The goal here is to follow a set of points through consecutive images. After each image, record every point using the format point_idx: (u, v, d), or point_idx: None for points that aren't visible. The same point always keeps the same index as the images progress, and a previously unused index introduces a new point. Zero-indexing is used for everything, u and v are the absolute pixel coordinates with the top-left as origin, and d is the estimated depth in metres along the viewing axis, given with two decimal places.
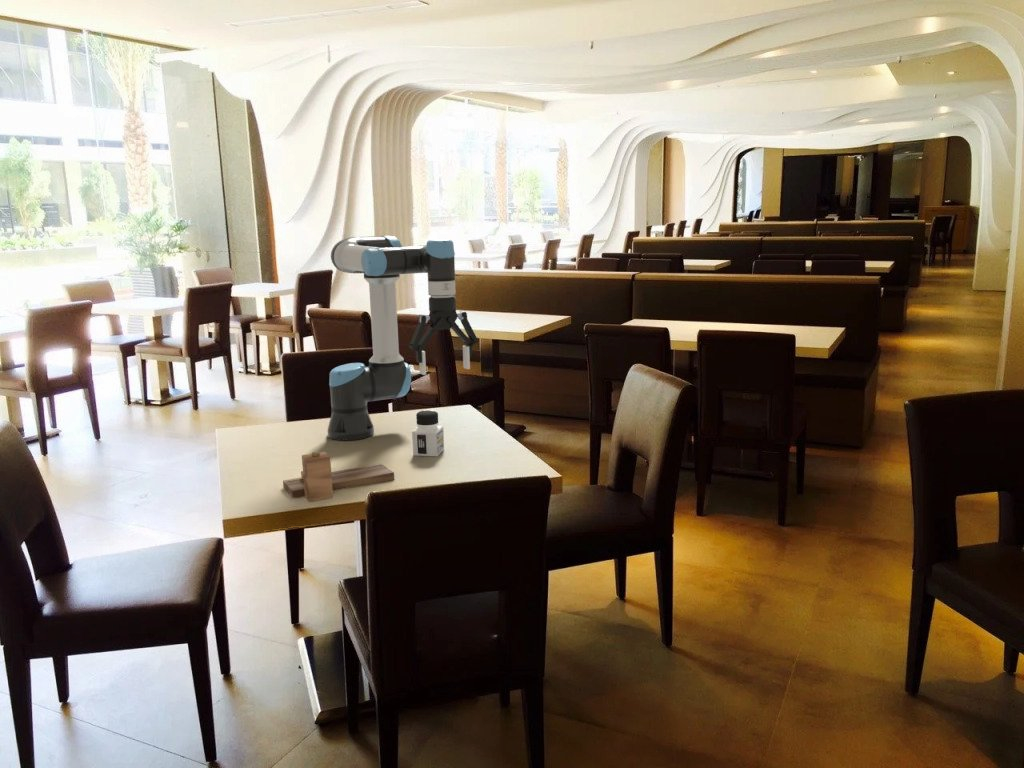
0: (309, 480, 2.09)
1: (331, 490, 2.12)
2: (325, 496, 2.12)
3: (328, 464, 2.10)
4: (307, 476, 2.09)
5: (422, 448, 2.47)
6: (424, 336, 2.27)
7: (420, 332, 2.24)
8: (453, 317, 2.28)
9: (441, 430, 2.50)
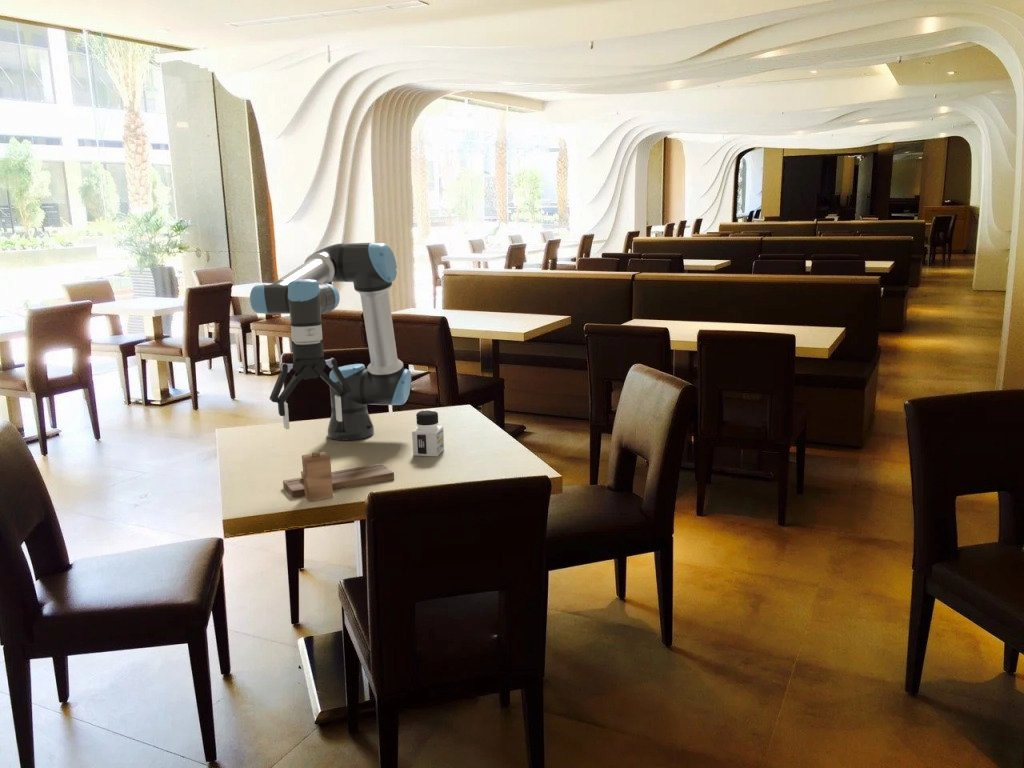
0: (309, 480, 2.09)
1: (331, 490, 2.12)
2: (325, 496, 2.12)
3: (328, 464, 2.10)
4: (307, 476, 2.09)
5: (422, 448, 2.47)
6: (287, 386, 2.04)
7: (281, 382, 2.02)
8: (320, 365, 2.06)
9: (441, 430, 2.50)
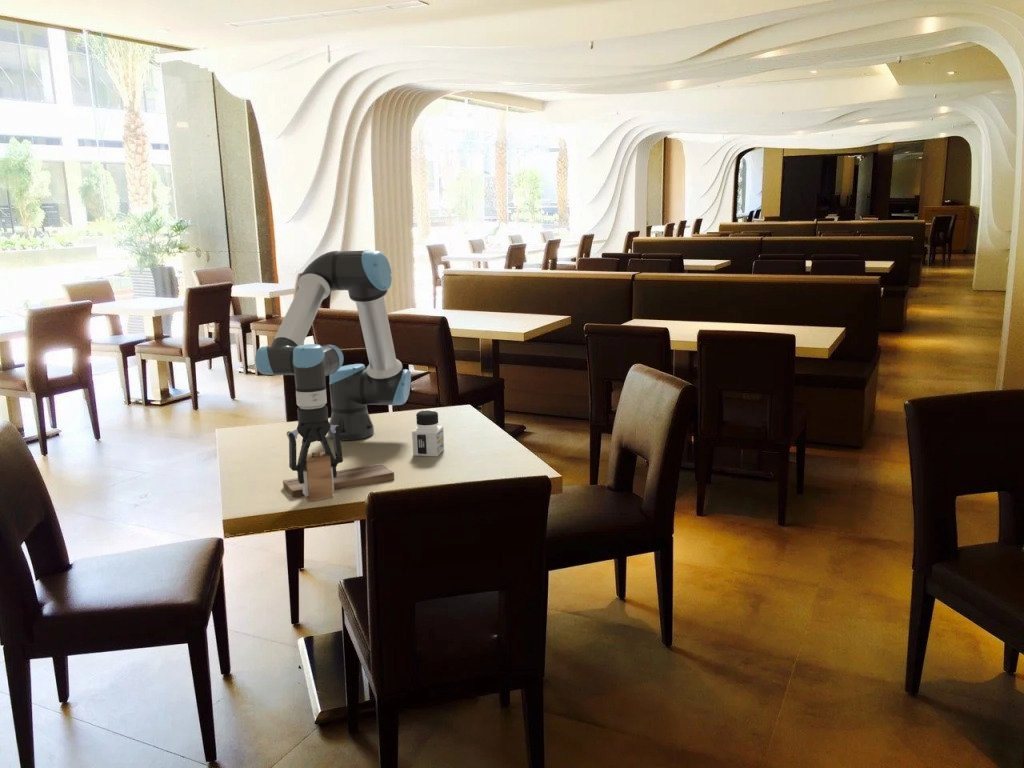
0: (309, 480, 2.09)
1: (331, 490, 2.12)
2: (325, 496, 2.12)
3: (328, 464, 2.10)
4: (307, 476, 2.09)
5: (422, 448, 2.47)
6: (300, 453, 2.09)
7: (294, 451, 2.07)
8: (325, 427, 2.10)
9: (441, 430, 2.50)
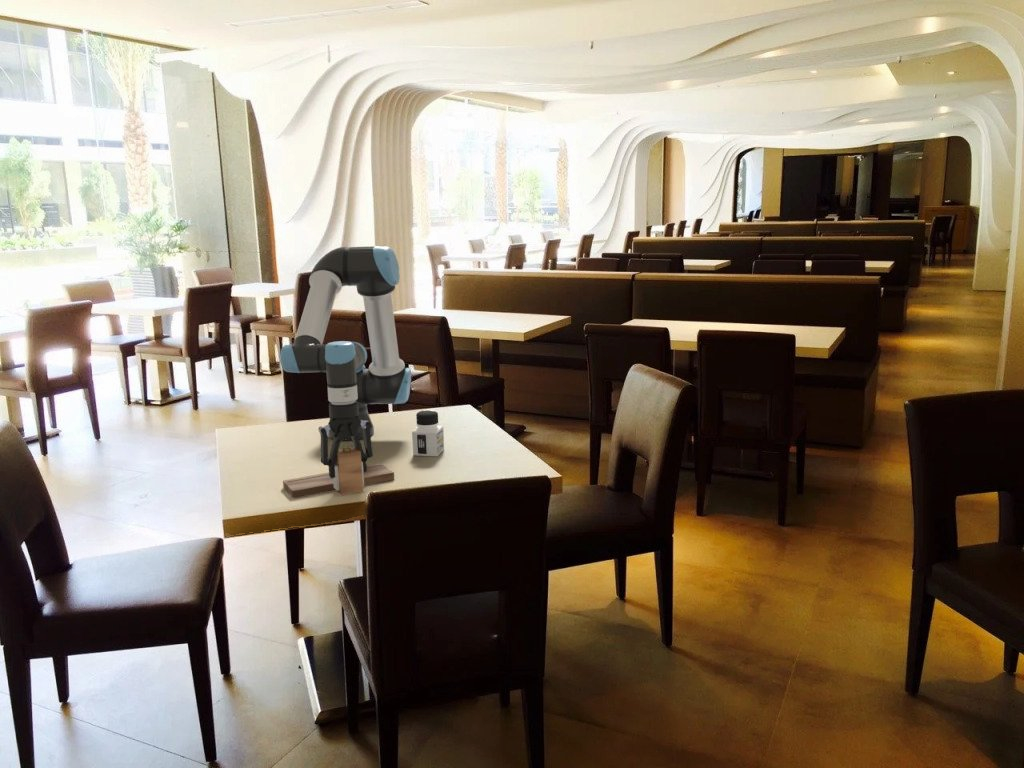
0: (340, 474, 2.13)
1: (361, 484, 2.16)
2: (355, 490, 2.15)
3: (359, 458, 2.14)
4: (338, 471, 2.13)
5: (422, 448, 2.47)
6: (332, 448, 2.13)
7: (325, 446, 2.11)
8: (355, 423, 2.14)
9: (441, 430, 2.50)
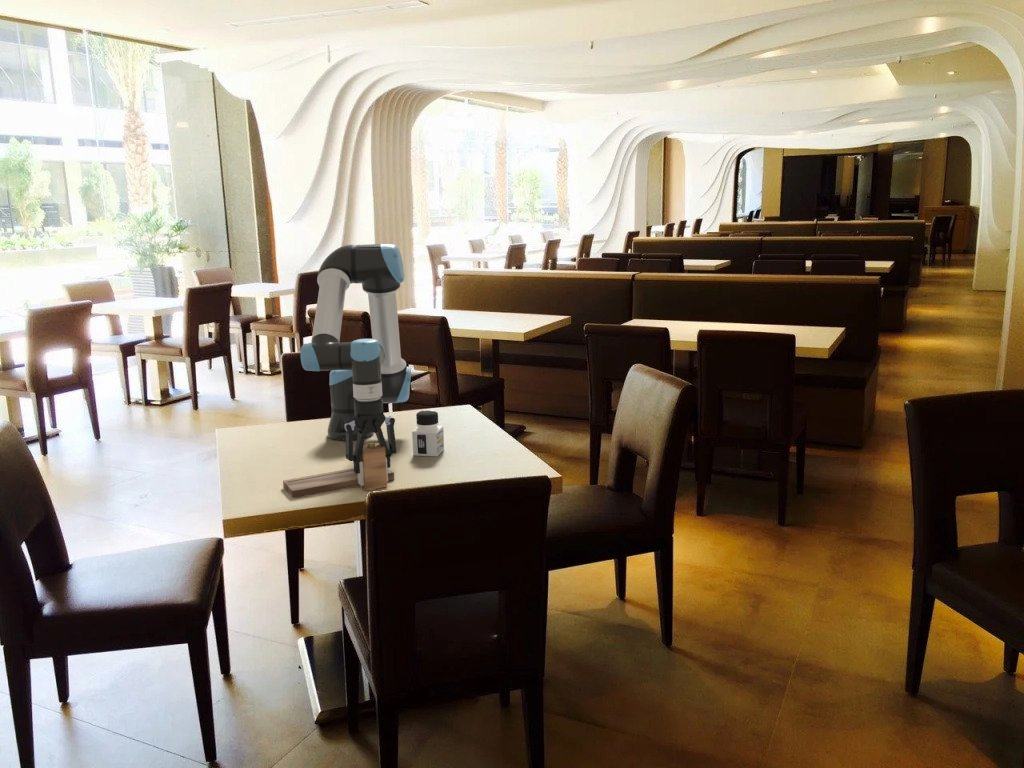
0: (365, 470, 2.16)
1: (385, 480, 2.19)
2: (380, 486, 2.19)
3: (383, 454, 2.18)
4: (363, 466, 2.16)
5: (422, 448, 2.47)
6: (357, 444, 2.16)
7: (350, 442, 2.14)
8: (380, 419, 2.17)
9: (441, 430, 2.50)
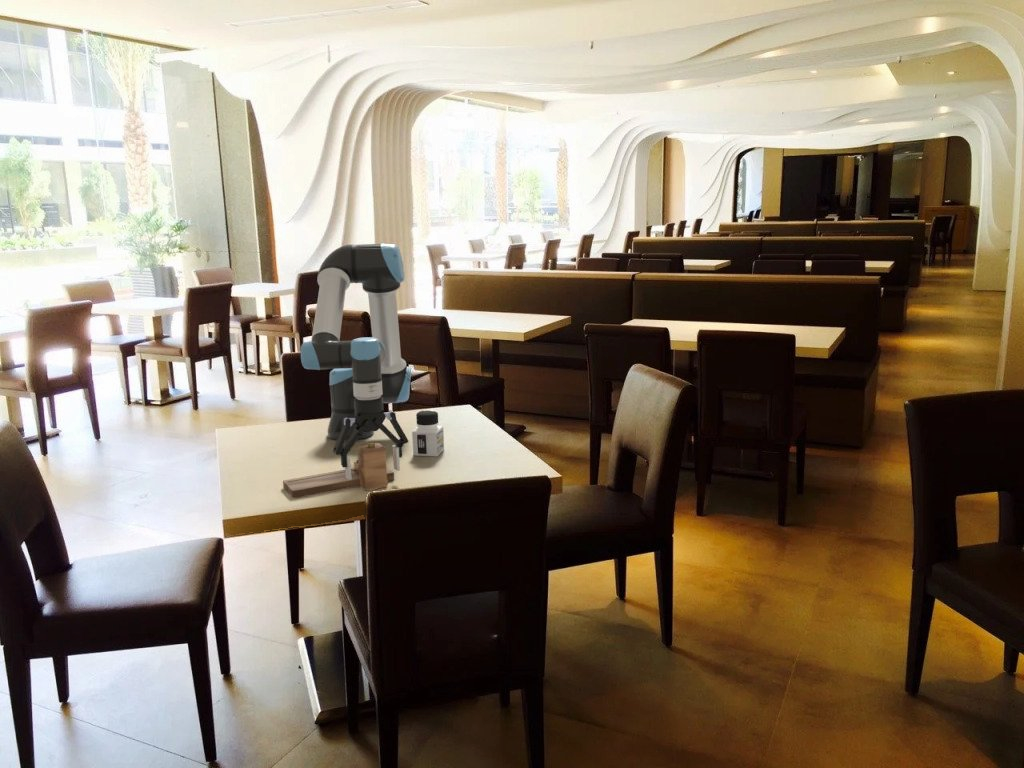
0: (365, 470, 2.16)
1: (386, 480, 2.19)
2: (380, 486, 2.19)
3: (383, 454, 2.18)
4: (363, 466, 2.16)
5: (422, 448, 2.47)
6: (349, 439, 2.15)
7: (344, 436, 2.13)
8: (380, 418, 2.17)
9: (441, 430, 2.50)
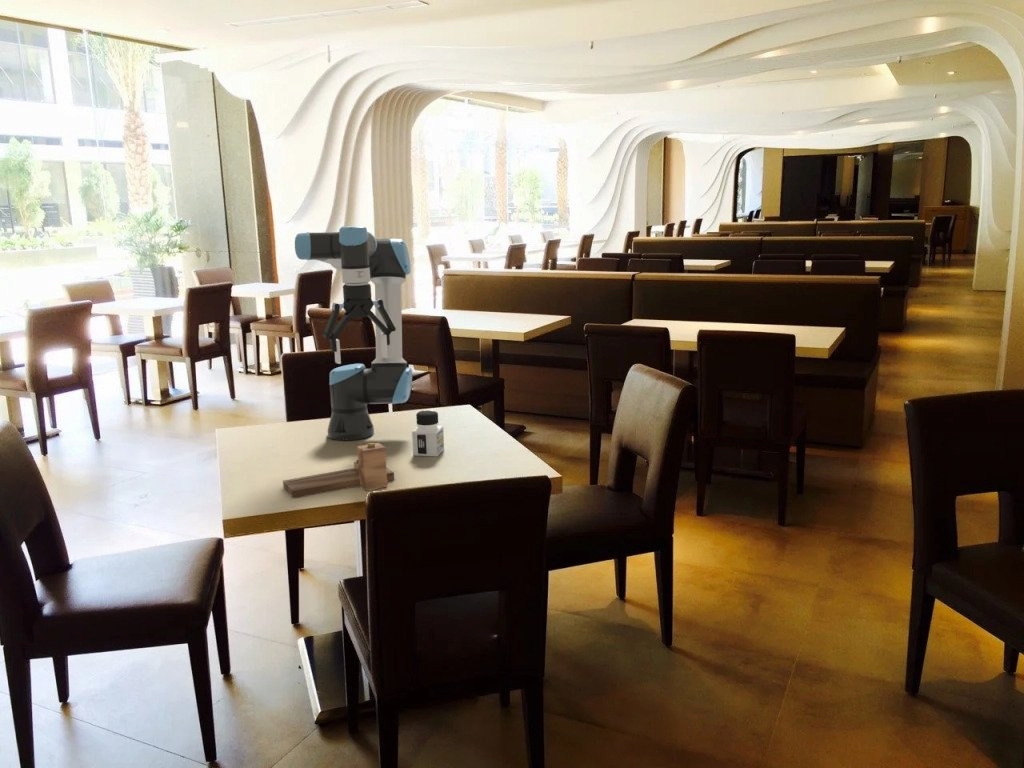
0: (365, 470, 2.16)
1: (386, 480, 2.19)
2: (380, 486, 2.19)
3: (383, 454, 2.18)
4: (363, 466, 2.16)
5: (422, 448, 2.47)
6: (338, 324, 2.23)
7: (333, 320, 2.21)
8: (368, 305, 2.25)
9: (441, 430, 2.50)
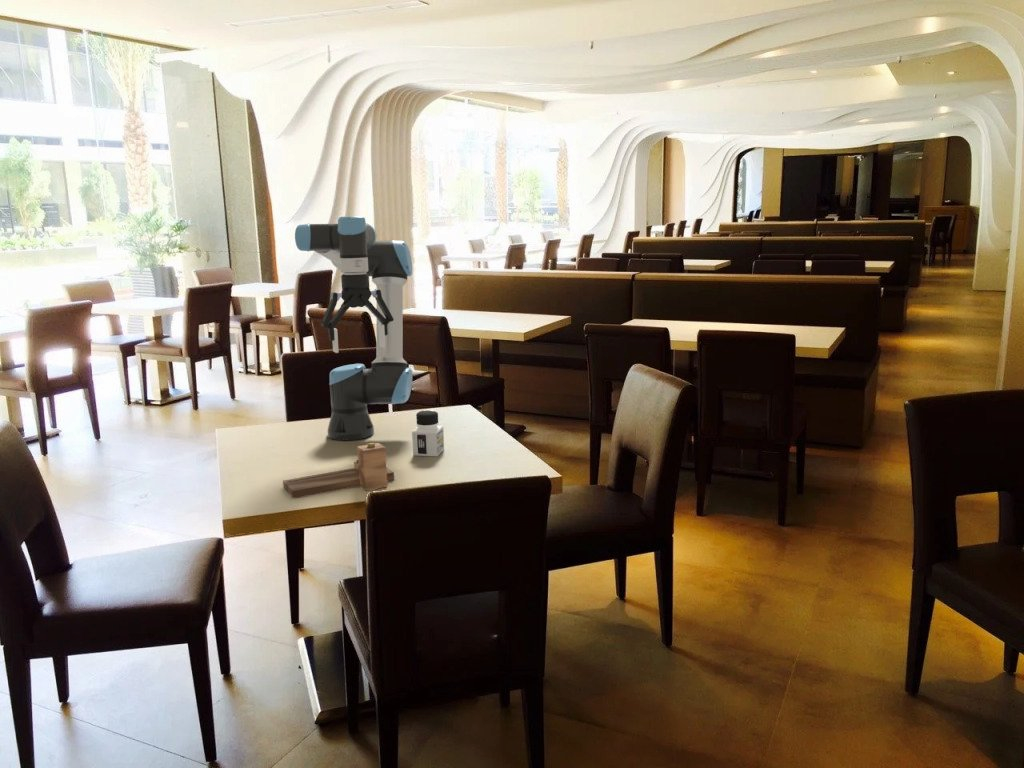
0: (365, 470, 2.16)
1: (386, 480, 2.19)
2: (380, 486, 2.19)
3: (383, 454, 2.18)
4: (363, 466, 2.16)
5: (422, 448, 2.47)
6: (336, 314, 2.25)
7: (331, 309, 2.22)
8: (366, 295, 2.27)
9: (441, 430, 2.50)
